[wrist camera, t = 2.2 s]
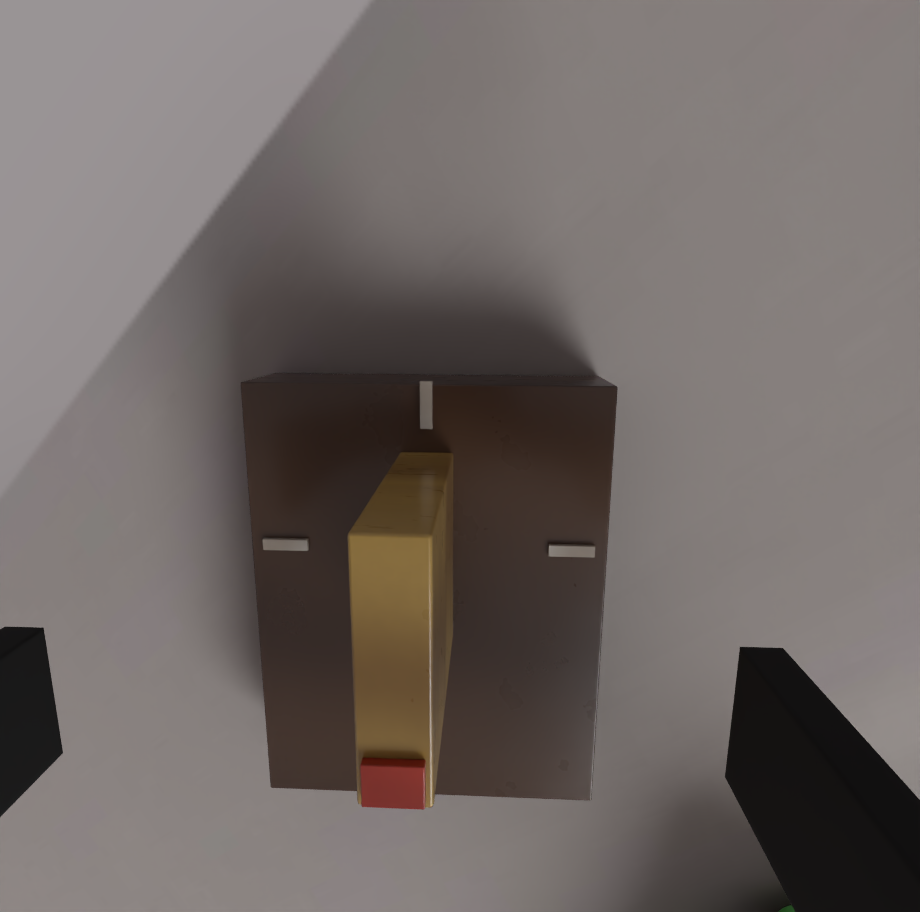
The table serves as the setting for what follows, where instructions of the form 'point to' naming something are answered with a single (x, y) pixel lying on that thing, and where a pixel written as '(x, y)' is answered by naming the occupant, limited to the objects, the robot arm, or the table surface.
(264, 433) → the plate
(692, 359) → the table surface
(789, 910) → the speaker
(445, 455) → the gold block
